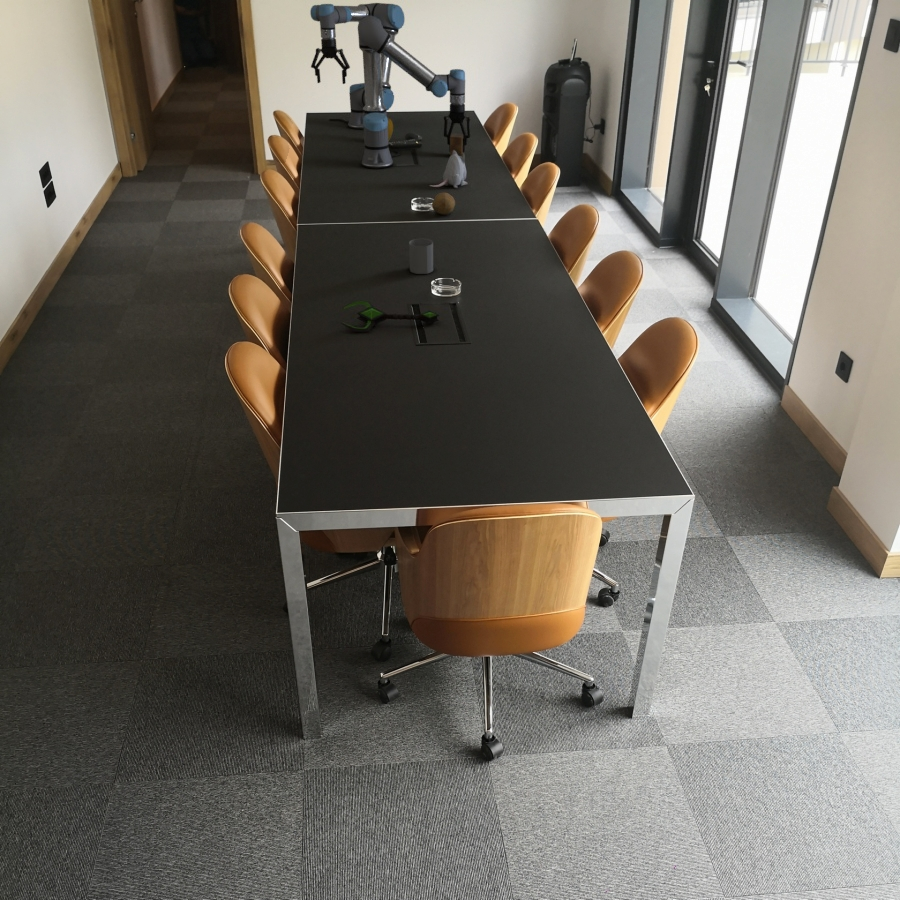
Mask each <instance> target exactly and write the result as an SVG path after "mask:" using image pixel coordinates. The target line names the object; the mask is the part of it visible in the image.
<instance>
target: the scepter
mask: <svg viewBox="0 0 900 900" xmlns="http://www.w3.org/2000/svg"><path fill="white" fill-rule="evenodd" d="M357 305H360V306H361V305H362V306H365V307H367V308H364V309H363V310H360V311H358V312H357V313H356V315H359V316H358V317H357V318H356V319H357V320H358V321H361V322H362V323H364V324H366V326H365V327H355V326H352V325H351V324H348V323H345V322H341V325H343V326H344V327H346V328H348V330H351V331H353V332H357V333H368V332H370V330H371V329H372V328H373V326H376V325H377V324H380V323H382V322H384V321H386V320H401V321H402V320H409V321H411V320H413V321H418V320H420V322H423V323H425V324H428V325H431V324H434V323H437V322H438V321H439V319H438V317H440V314H438V313H436V312H433V311H432V310H428V311H426V312H423V313H420V314H409V313H408V314H407V313H405V314H403V313H401V314H399V313H398V314H397V313H386V312H384V311H383V310H380V309H378V308H377V307H376V306H375V307H374V306H373V304H372V303H371V302H370V301H369V300H355V301H352V302H350V303H348V304H346V305H345V306H343V307H342V310H344V309H345V310H346V309H347V308H350V307H353V306H357Z"/></svg>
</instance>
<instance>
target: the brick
mask: <svg viewBox="0 0 900 900" xmlns="http://www.w3.org/2000/svg"><path fill="white" fill-rule="evenodd" d="M463 138H464V136H463V133H451V136H450V152H449V155H450V156H451V155H453V154H452V153H453V150H455V151H456V153H457V155H458V156H461V157H463V154H464V153H463V152H462V151H463Z"/></svg>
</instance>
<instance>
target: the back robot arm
mask: <svg viewBox="0 0 900 900" xmlns="http://www.w3.org/2000/svg"><path fill="white" fill-rule="evenodd" d="M366 16H375V17H377V18H378V19H379V20H380V21H381V23H382V26H383V29H384V30H385V31H386V32H387V33H388V34H390V35H391V38H392V40H393V41H395V40H396V36H397V35H398V34H399V30H400V29H402V28H403V26H404V25H405V13H404V11H403V8H402V7H401V6H400V5H398V4H395V3H383V2H370V3H360V4H358V5H334V4H333V3H321V4H314V5H312V6H311V8H310V17H311V19H312V20H313V21H315V22H319V26H320V27H319V28H320V29H319V30H320V38H321V39H320V44H321V48H320V47H317V48H316V49H315V54H314V57H313V60H312V62H311V64H310V68H311V69H313V70H314V76H315V77H316V80H317V81H316V82H317V83H316V84H320V83H321V70H320V68H319V67H320V66H321V65H322V63H323V62H324V60H325V59H332V60H333V59H334V61H336V62H337V64H338V65H339V66H340V67H341V76H342V77H341V82H342V85H345V84H347V83H346V77H347V76H348V71H347V70H349V69H350V68H351V66H350V64H349V62H348V59H347V58H346V56H345V53H344V49H343V48H339V49H338V47H337V39H336V36H337V34H336V33H337V32H336V25H339V24H347V23H359V22H360V20H361V19H362V18H363V17H366ZM321 53H322V55H321V57H320V58H319V55H320V54H321ZM338 54H339V56H338ZM318 58H319V60H318ZM340 58H341V59H340ZM392 63H393V62H392V61H391V60H390V59H389V58H387V57H386V56H385V55H384V54H381V70H382V91H383V105H384V106H385V107H386V111H389V110H390V109H391V108H392V107H393V104H394V101H395V95H394V91H393V90H392V86H391V84H390V78H391V70H392ZM348 93H349V105H350V106H349V108H350V115H349V119H348V120H345V119H342V118H329V119H328V120H329V121H331V122H333V121H335V122H336V121H339V122H343V123H346V124H347V126H348V128H349V129H352V130H364V125H363V107H364V106H365V105H366V101H365V84H364V82H359V83H354V84H351V85H349V92H348Z"/></svg>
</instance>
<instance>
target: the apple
mask: <svg viewBox="0 0 900 900" xmlns="http://www.w3.org/2000/svg"><path fill="white" fill-rule="evenodd" d="M387 120H388V142H389V141H390V140H391V138H392V135H393V132H394V124H393V123H394V122H393V120H391V118H390V117H387Z"/></svg>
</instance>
